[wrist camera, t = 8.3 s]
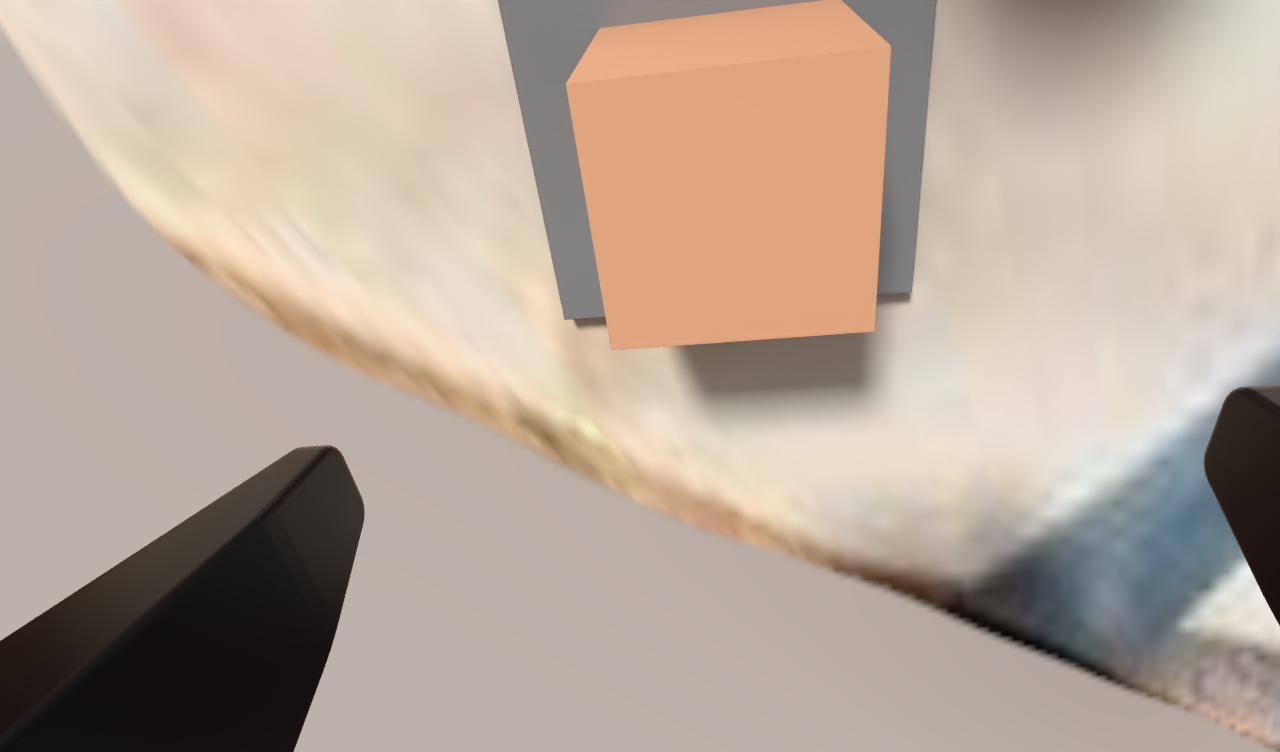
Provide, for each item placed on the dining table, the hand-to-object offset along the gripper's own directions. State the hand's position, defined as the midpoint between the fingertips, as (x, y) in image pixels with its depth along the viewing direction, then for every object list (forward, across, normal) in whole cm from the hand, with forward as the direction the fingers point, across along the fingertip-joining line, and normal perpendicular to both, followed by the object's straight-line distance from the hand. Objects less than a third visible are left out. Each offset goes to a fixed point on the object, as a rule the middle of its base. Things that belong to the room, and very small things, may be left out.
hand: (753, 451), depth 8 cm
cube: (+11, 0, 0) cm, 11 cm away
